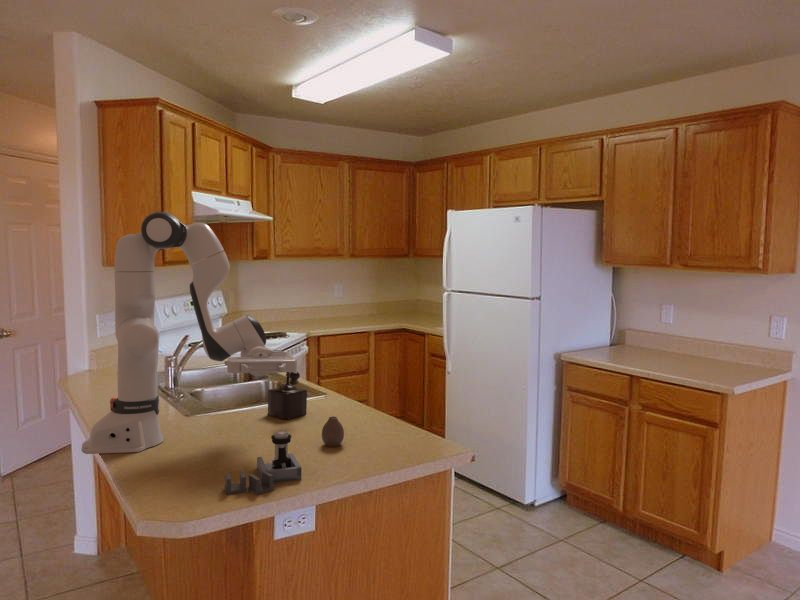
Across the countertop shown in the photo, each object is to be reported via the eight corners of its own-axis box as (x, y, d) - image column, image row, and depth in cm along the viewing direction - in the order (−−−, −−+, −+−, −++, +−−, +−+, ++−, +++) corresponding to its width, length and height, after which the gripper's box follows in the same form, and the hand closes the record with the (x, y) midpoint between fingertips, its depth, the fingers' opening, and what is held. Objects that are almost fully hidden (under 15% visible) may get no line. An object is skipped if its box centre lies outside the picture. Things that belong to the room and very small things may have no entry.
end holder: (263, 484, 148) (263, 472, 148) (257, 468, 159) (257, 457, 159) (301, 479, 152) (301, 467, 152) (292, 464, 162) (292, 453, 162)
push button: (273, 475, 152) (273, 438, 151) (263, 469, 156) (263, 433, 155) (295, 469, 156) (295, 433, 155) (284, 463, 160) (284, 428, 159)
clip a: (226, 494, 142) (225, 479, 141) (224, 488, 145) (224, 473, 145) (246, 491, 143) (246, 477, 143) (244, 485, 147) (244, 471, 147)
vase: (326, 450, 175) (326, 421, 174) (318, 443, 181) (318, 415, 180) (347, 446, 178) (347, 419, 177) (339, 440, 184) (339, 413, 183)
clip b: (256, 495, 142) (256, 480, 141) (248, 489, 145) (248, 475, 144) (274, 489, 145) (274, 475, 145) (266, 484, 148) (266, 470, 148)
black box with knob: (265, 415, 210) (265, 366, 209) (289, 409, 219) (289, 362, 217) (293, 423, 200) (293, 372, 199) (316, 417, 209) (317, 368, 207)
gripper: (224, 351, 174) (228, 359, 161) (291, 350, 182) (300, 358, 169) (223, 372, 174) (227, 381, 162) (290, 370, 182) (300, 379, 169)
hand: (265, 370), depth 165 cm, fingers open, 8 cm apart
